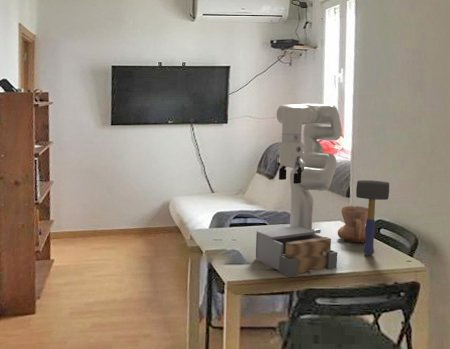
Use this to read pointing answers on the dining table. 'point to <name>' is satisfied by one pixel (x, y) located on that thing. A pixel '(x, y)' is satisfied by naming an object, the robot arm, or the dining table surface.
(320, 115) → the robot arm
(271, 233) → the cabinet
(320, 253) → the tan wooden plank
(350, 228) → the ceramic jug
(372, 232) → the rubber mallet
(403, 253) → the dining table surface
